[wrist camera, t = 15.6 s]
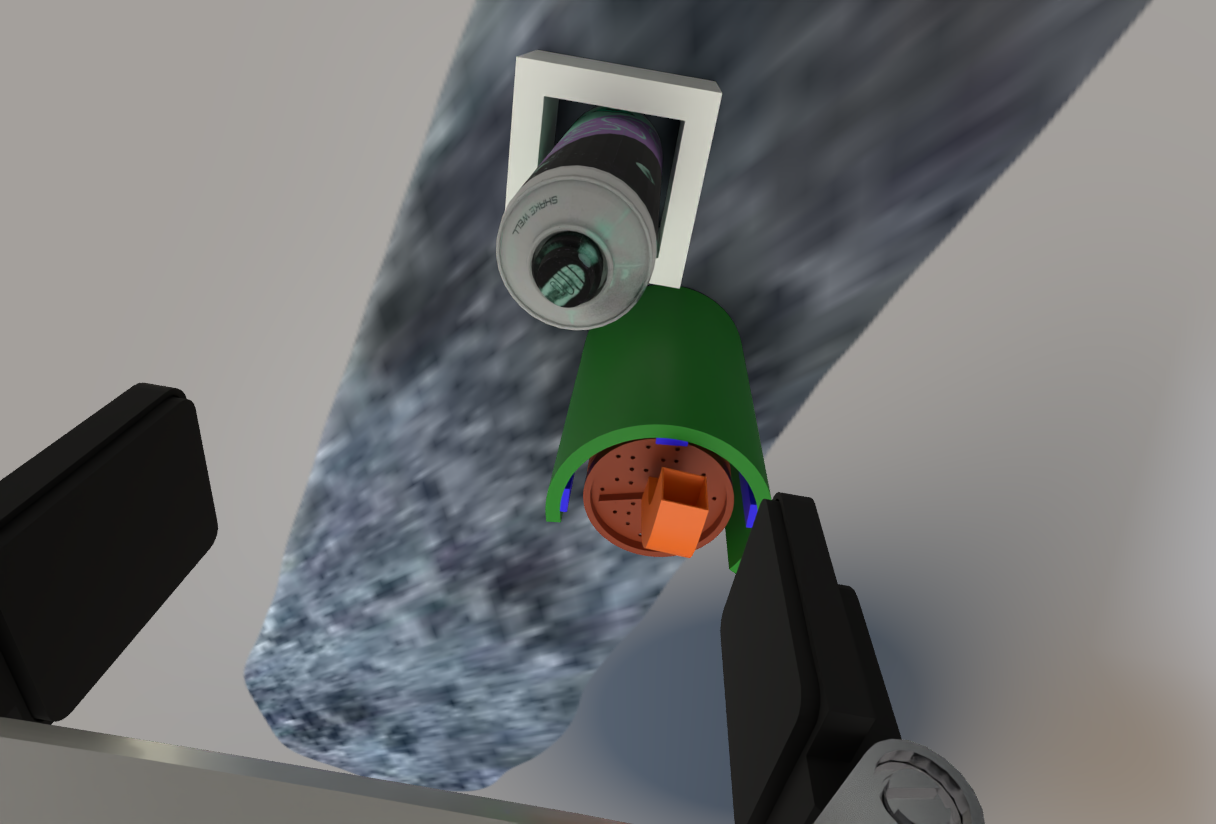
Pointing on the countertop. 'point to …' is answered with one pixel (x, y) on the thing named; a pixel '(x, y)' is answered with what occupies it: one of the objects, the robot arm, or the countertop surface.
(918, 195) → the countertop surface
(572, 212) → the spray can
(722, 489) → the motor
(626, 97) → the square frame
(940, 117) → the countertop surface
